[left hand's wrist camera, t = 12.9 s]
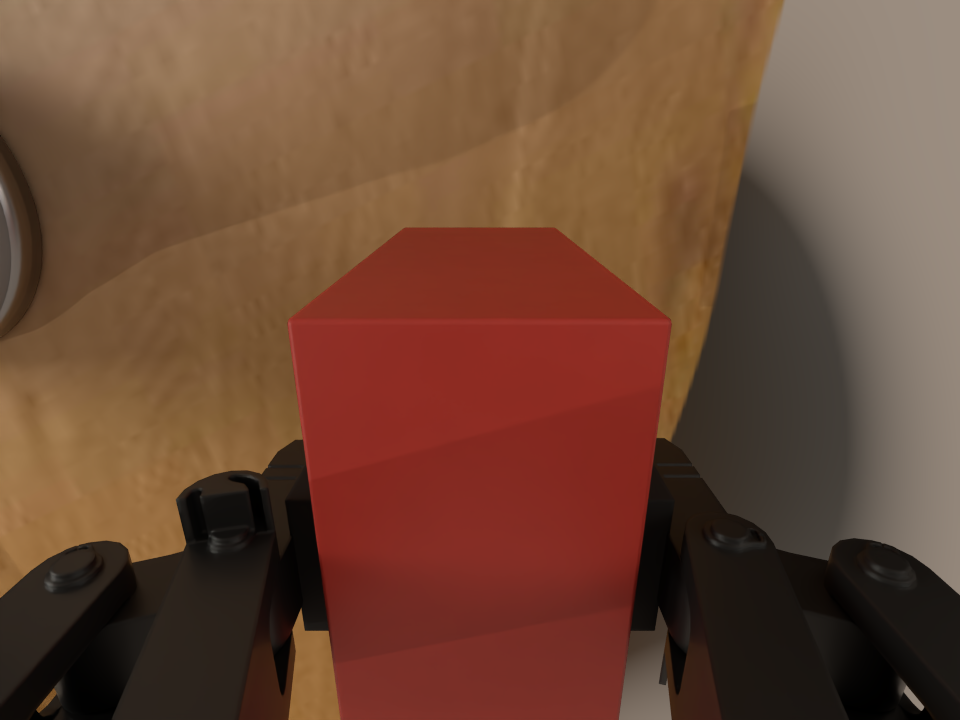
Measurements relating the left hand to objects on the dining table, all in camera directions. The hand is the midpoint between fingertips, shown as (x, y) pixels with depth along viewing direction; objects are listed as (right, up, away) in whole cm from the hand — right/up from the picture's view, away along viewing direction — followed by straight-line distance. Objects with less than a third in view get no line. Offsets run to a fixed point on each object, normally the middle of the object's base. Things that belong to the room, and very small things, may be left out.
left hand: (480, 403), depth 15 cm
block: (0, +1, +3) cm, 3 cm away
